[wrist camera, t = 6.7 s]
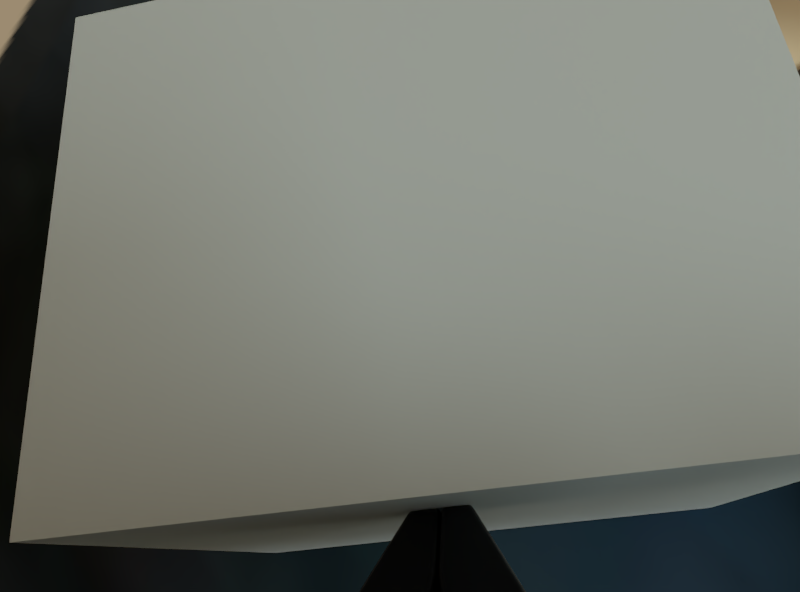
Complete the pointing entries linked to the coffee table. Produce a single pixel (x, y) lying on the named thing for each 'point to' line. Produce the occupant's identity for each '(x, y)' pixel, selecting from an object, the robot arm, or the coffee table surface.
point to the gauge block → (413, 270)
